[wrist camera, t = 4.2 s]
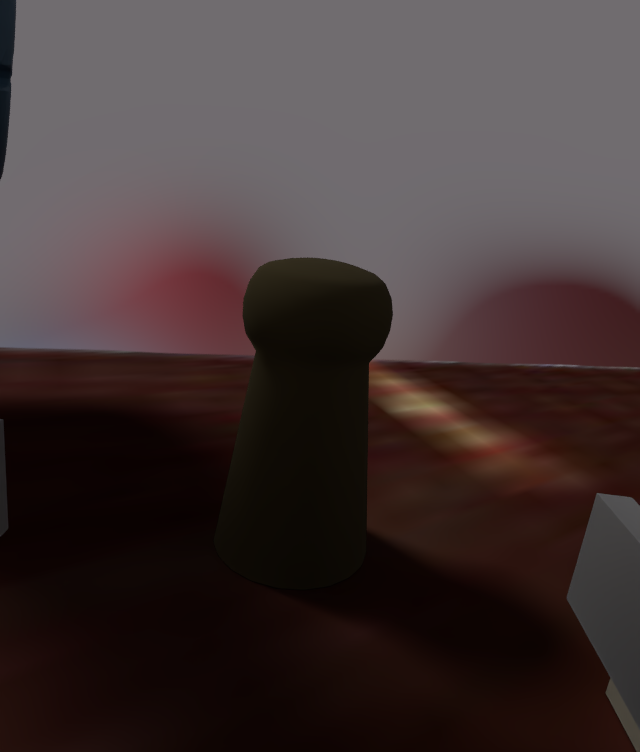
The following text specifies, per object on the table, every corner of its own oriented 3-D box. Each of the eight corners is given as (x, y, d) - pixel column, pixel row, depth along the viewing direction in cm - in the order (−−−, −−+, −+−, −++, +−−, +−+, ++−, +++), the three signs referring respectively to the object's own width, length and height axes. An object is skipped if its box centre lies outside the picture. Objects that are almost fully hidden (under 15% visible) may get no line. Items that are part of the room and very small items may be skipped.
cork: (250, 607, 19) (283, 273, 16) (192, 514, 24) (208, 244, 21) (396, 568, 22) (449, 280, 19) (318, 492, 27) (350, 253, 24)
